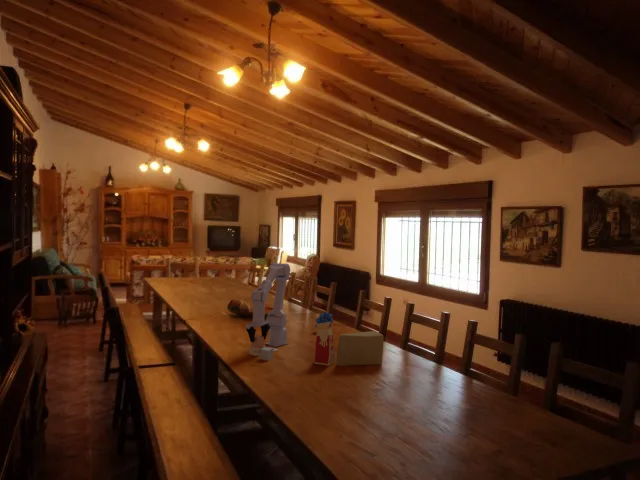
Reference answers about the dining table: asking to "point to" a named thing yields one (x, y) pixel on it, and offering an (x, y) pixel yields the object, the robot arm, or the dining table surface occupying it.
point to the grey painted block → (266, 353)
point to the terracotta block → (258, 342)
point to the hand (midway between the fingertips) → (257, 340)
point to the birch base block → (255, 351)
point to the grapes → (324, 318)
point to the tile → (274, 349)
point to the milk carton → (324, 345)
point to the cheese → (360, 349)
